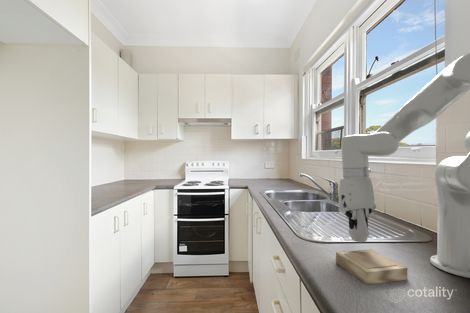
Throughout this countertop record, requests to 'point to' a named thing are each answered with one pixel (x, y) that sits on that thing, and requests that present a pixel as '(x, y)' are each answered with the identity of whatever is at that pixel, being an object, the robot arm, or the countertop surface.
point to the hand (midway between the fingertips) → (358, 229)
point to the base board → (371, 266)
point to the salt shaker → (360, 228)
